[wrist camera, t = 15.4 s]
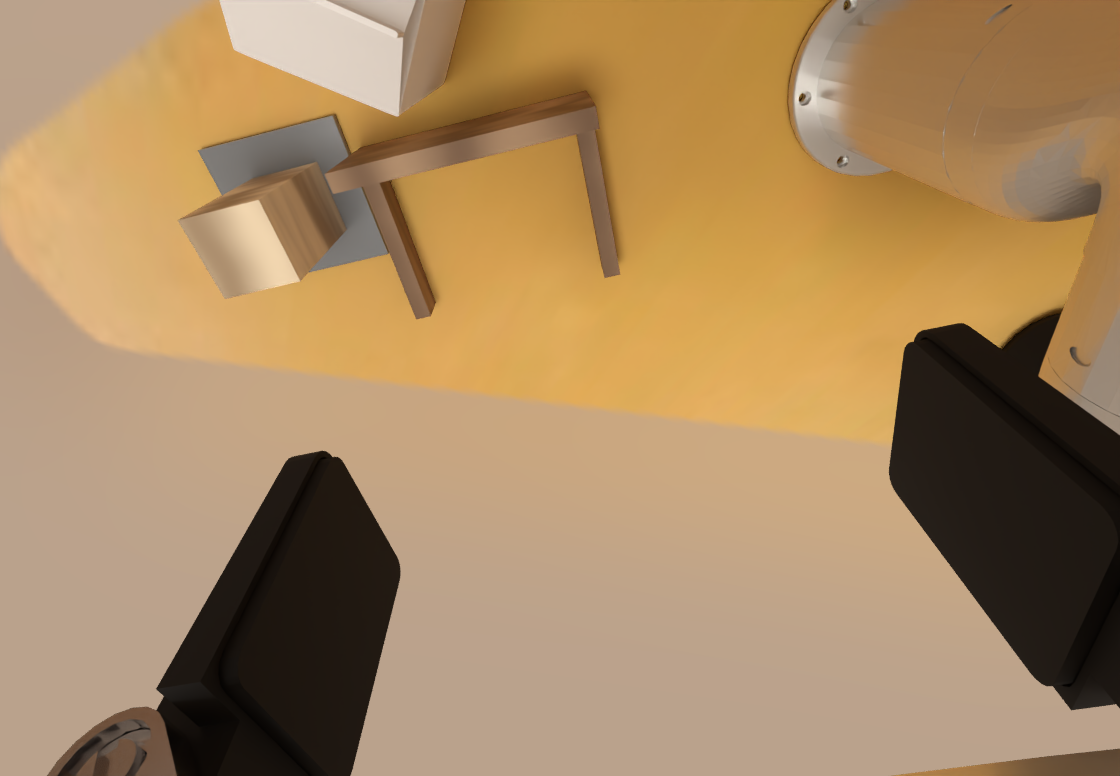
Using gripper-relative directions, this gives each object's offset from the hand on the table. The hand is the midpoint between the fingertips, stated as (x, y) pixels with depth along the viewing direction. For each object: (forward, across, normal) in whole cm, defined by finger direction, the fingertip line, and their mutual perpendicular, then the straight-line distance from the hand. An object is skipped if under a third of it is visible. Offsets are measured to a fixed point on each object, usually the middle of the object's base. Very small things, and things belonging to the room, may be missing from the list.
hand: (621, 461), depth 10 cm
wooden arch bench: (+36, +6, +5) cm, 37 cm away
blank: (+36, +20, +1) cm, 41 cm away
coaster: (+36, +20, +1) cm, 41 cm away
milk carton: (+36, +8, -9) cm, 38 cm away
